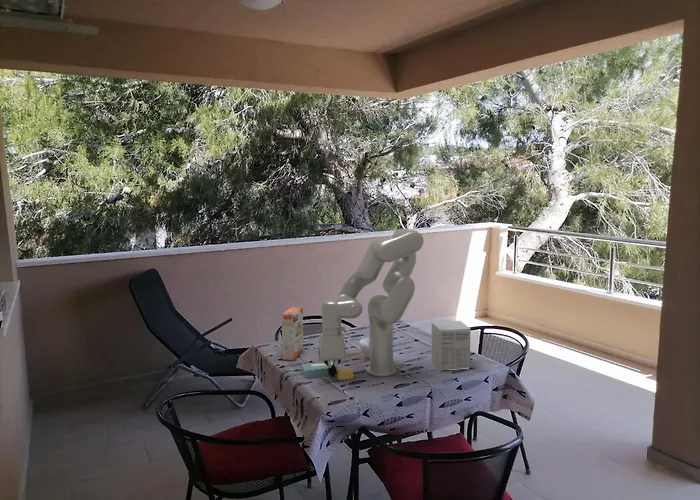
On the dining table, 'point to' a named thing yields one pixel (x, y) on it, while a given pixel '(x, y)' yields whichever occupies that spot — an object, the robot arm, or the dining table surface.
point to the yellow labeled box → (344, 373)
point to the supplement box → (450, 345)
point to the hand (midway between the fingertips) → (332, 376)
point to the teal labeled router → (315, 370)
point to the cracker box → (292, 333)
